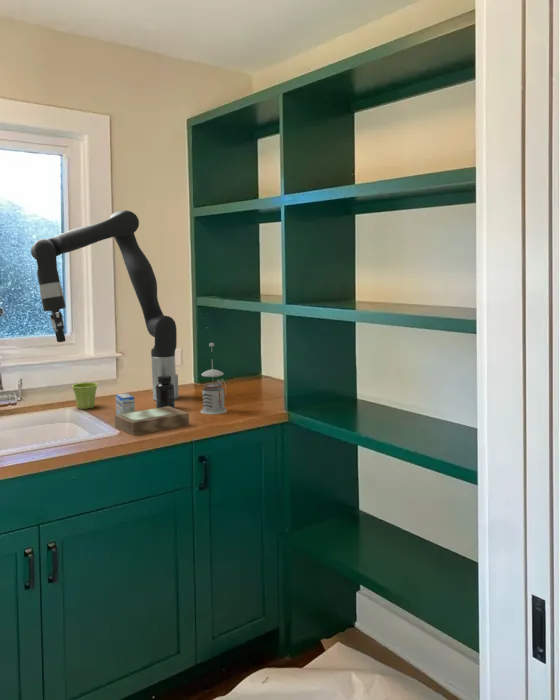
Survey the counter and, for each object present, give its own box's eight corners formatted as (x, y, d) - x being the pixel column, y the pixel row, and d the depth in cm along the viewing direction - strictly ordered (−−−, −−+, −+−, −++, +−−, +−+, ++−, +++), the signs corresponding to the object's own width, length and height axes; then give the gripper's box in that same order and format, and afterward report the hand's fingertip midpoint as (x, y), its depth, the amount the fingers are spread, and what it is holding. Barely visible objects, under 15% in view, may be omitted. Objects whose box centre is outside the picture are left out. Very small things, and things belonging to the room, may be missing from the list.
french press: (216, 407, 245) (214, 340, 241) (236, 411, 236) (234, 342, 233) (194, 411, 238) (192, 343, 235) (214, 416, 230) (211, 345, 226)
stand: (169, 417, 229) (168, 405, 229) (189, 424, 218) (188, 412, 218) (115, 426, 217) (114, 414, 217) (133, 435, 206) (132, 421, 206)
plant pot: (95, 409, 244) (94, 386, 242) (69, 410, 243) (68, 387, 242) (101, 404, 253) (100, 382, 252) (77, 405, 253) (75, 382, 252)
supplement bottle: (173, 405, 248) (172, 374, 247) (176, 409, 242) (175, 377, 240) (155, 407, 246) (153, 375, 245) (158, 411, 240) (156, 378, 238)
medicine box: (116, 418, 229) (115, 394, 228) (128, 416, 232) (127, 392, 230) (123, 423, 223) (121, 398, 221) (135, 421, 225) (134, 396, 224)
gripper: (65, 293, 226) (74, 340, 228) (61, 296, 239) (70, 339, 241) (42, 297, 223) (51, 344, 225) (40, 299, 236) (49, 343, 238)
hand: (61, 341), depth 233 cm, fingers open, 8 cm apart
